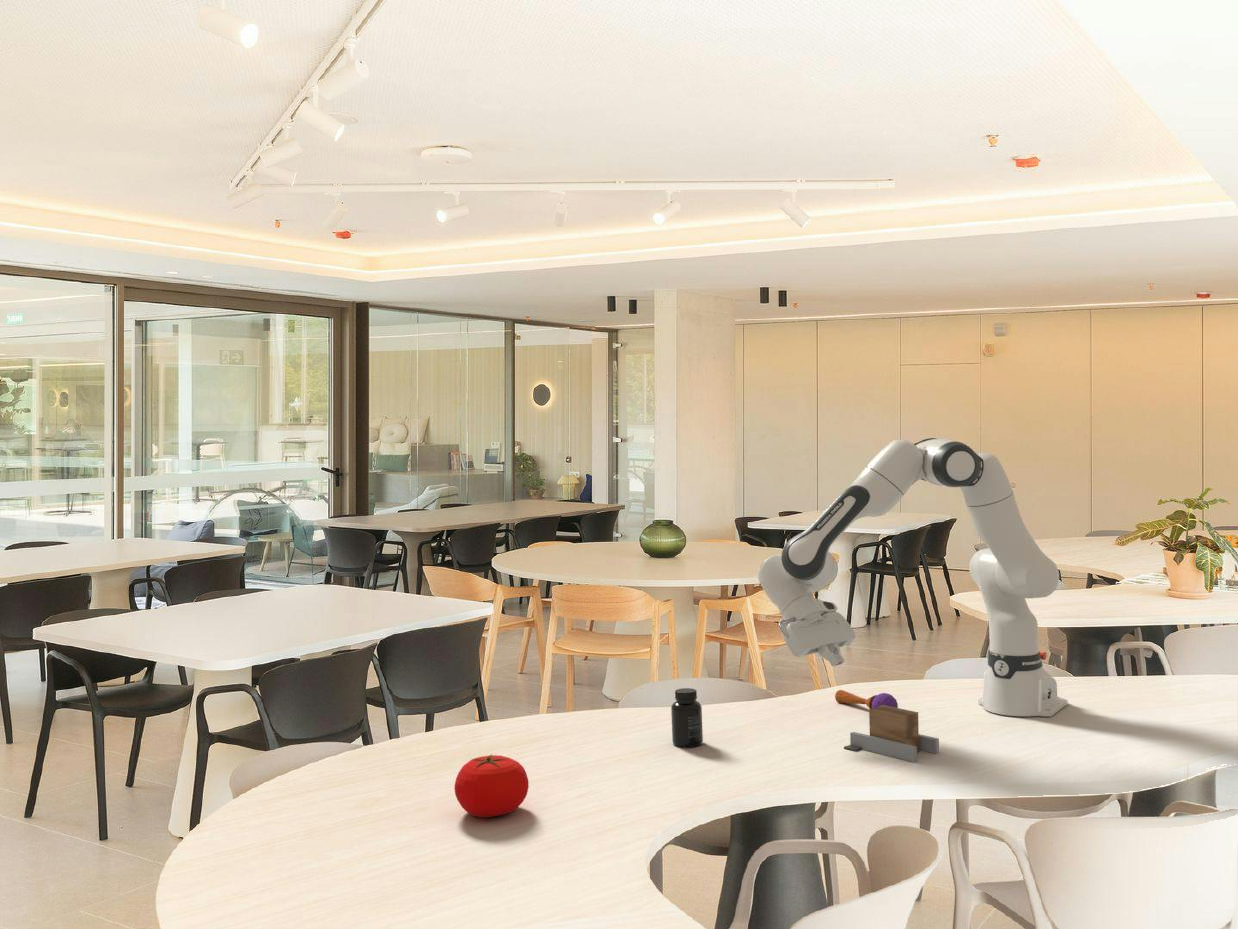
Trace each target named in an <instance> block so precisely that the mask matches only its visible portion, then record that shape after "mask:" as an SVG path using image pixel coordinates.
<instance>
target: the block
mask: <svg viewBox="0 0 1238 929" xmlns="http://www.w3.org/2000/svg"><path fill="white" fill-rule="evenodd" d="M868 712H869V713H868V714H869V715H868V718H869V719H868V720H869V735H870V736H874V737H878V738H882V739H887V740H891V741H895V742H899V743H903V744H908V745H912V746H916V747H917V753H919V751H920V750H919V734H920V732H919V728H920V727H919V712H918V711H914V710H909V709H904V708H899V707H898V708H895V707H891V706H886V705H881V706H878V707H875V708H871V709H868Z"/></svg>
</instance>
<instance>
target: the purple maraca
mask: <svg viewBox="0 0 1238 929" xmlns="http://www.w3.org/2000/svg"><path fill="white" fill-rule="evenodd" d="M834 699H835V701H836V702H837V703H839V704H851V705H854V704H855V705H856V704H857V705H866V706H867V707H868V708H869V709H871V708H875V707H878V706H881V705H886V706H891V707H895V708H899V707H898V706H899V704H898V701H897V699H896V698H895V697H894V696H893V695H892V694H890V693H886V692H881V693H879V694H875V695H872V696H870V697H869V698H867V699H866V698H863V697H861V696H859V695H856V694H853V693H850V692H849V691H848V692H847V691H846V690H843V689H838V690H837V691H836V692H835V695H834ZM869 709H868V710H869Z"/></svg>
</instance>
